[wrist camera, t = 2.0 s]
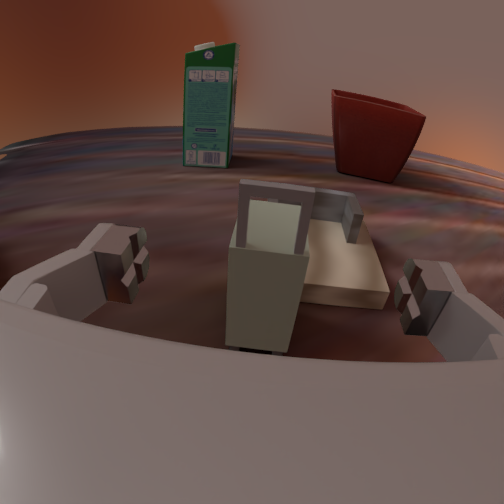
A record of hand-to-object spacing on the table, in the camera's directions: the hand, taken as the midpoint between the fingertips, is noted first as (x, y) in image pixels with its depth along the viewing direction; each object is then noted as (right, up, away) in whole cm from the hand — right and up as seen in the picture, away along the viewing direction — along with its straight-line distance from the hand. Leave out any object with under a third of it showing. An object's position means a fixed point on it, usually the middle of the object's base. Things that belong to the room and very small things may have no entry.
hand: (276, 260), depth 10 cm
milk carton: (-10, +19, +56) cm, 60 cm away
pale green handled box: (0, -7, +19) cm, 21 cm away
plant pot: (+25, +19, +61) cm, 68 cm away
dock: (+6, -1, +29) cm, 30 cm away
